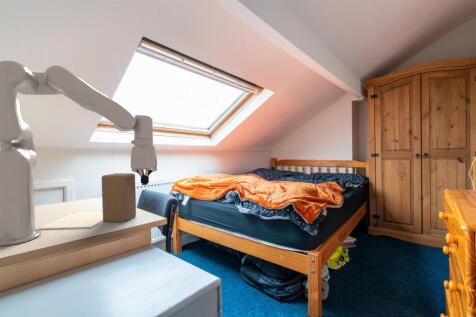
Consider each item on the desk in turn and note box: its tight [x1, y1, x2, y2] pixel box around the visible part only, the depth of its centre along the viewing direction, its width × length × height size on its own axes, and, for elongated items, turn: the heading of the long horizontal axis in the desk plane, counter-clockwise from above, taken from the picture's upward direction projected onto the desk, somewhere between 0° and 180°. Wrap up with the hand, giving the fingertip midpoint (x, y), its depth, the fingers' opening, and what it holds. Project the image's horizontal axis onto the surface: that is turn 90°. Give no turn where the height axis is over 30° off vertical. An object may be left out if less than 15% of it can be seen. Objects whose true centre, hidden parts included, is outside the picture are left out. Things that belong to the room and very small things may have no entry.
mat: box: [37, 211, 104, 231], centre depth 100 cm, size 20×22×1 cm
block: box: [101, 172, 137, 223], centre depth 101 cm, size 10×10×20 cm
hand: (144, 184), depth 102 cm, fingers closed
